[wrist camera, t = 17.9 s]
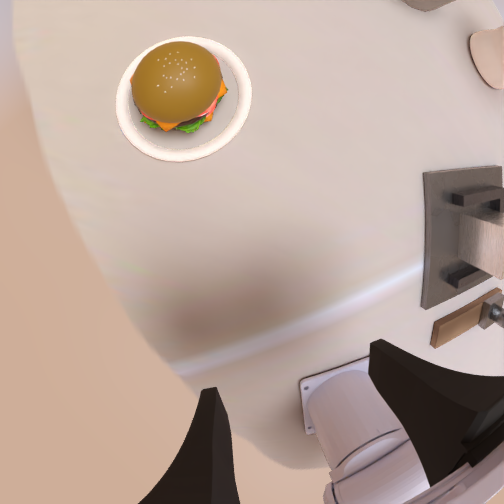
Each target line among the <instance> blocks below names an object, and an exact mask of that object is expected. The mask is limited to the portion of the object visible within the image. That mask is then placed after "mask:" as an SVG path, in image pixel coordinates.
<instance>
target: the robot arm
mask: <svg viewBox="0 0 504 504" xmlns="http://www.w3.org/2000/svg"><path fill="white" fill-rule="evenodd" d="M306 386H307V387H306ZM300 390H301V398H302V407H303V416H304V425H305V432H306V434H307V435H310V434H313V433H316V436H317V438H318V440H319V443H320V445H321V447H322V450H323V452H324V454H325V457H326V459H327V461H328V464H329V466H330V468H331V470H332V471H331V472H329V474H330V477H331V479H332V482H330V483H329V484H327V485H326V488H325V491H324V495H323V499H324V504H485V503H487V502H488V501H489V500H490V499H491V498H492V497H493V496H494V495H495V494H497V493H498V492H499V491H500V490H501V489H502V488H503V487H504V376H480V375H473V374H467V373H462V372H457V371H453V370H450V369H447V368H443V367H440V366H438V365H435V364H432V363H430V362H427V361H425V360H423V359H421V358H418V357H416V356H414V355H412V354H410V353H408V352H406V351H404V350H402V349H400V348H398V347H396V346H394V345H392V344H391V343H389V342H387V341H385V340H383V339H379V340H377V341H374V342H372V343H370V354H369V357H367V358H364V359H362V360H359V361H356V362H354V363H351V364H348V365H345V366H343V367H340V368H337V369H334V370H331V371H328V372H325V373H322V374H319V375H316V376H312V377H309V378H306V379H303V380H302V381H301V382H300ZM138 504H240V501H239V497H238V492H237V487H236V482H235V476H234V464H233V451H232V438H231V430H230V425H229V420H228V415H227V412H226V410H225V407H224V405H223V402H222V400H221V397H220V395H219V392H218V390H217V387H213V388H208V389H203V390H202V391H201V394H200V398H199V402H198V406H197V409H196V412H195V415H194V418H193V420H192V423H191V426H190V428H189V431H188V433H187V435H186V438H185V440H184V442H183V444H182V446H181V448H180V450H179V452H178V454H177V455H176V457H175V459H174V461H173V462H172V464H171V465H170V467H169V468H168V470H167V471H166V473H165V474H164V475H163V477H162V478H161V479H160V481H159V482H158V483H157V484H156V485H155V487H154V488H153V489H152V490H151V491H150V493H149V494H148V495H147V496H146V497H145V498H143V499H142V500H141V501H140V502H139V503H138Z"/></svg>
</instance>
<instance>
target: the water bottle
mask: <svg viewBox="0 0 504 504" xmlns="http://www.w3.org/2000/svg"><path fill="white" fill-rule="evenodd" d="M470 50H471V54H472V58H473V60H474V63H475V65H476V67H477V69H478V71H479V73H480V74H481V76H482V77H483V78H484V80H485V81H486V82H487V83H488V84H489V85H490V86H492V87H493V88H496V89H504V26H501V27H499V28H497V29H491V30H483V31H479V32H476V33H474V34H473V35H472V36H471V39H470Z"/></svg>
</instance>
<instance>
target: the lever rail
mask: <svg viewBox="0 0 504 504" xmlns="http://www.w3.org/2000/svg"><path fill="white" fill-rule="evenodd" d="M498 292H499V293H502V290H501V289H499V288H495V289H494V290H492V291H490V292H489V293H487V294H485V295H484V296H482V297H480V298H478V299H477V300H475V301H473V302H471V303H470V304H468V305H466V306H464V307H462V308H460V309H459V310H457V311H455V312H453V313H451V314H449V315H447V316H445V317H443V318H441V319H439V320H437V321H435V322H434V328H433V333H432V338H431V343H430V345H432V346H433V347H434V348H435V349H436V348H438V347H440V346H441V345H443V344H445V343H447V342H449V341H450V340H452V339H454V338H456V337H457V336H459V335H461V334H462V333H464V332H466V331H467V330H469V329H470V328H472V327H474V326H475V325H477V324H478V323H479V321H480V317H481V312H482V308H483V303H484V301H485V300H486V299H488V298H490V297H491V296H493V295H494V294H496V293H498Z"/></svg>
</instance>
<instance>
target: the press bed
mask: <svg viewBox="0 0 504 504" xmlns="http://www.w3.org/2000/svg"><path fill="white" fill-rule="evenodd" d="M423 175H424V190H425V219H426V236H425V266H424V281H423V292H422V302H421V307H422V308H424V309H425V310H427V309H429V308H431V307H434V306H436V305H438V304H440V303H442V302H444V301H446V300H448V299H451V298H453V297H455V296H457V295H459V294H461V293H463V292H465V291H467V290H468V289H470V288H472V287H474V286H476V285H478V284H480V283H482V282H484V281H485V280H487V279H489V278H491V277H493V275H491V274H489V273H487V272H485V271H483V270H481V269H479V268H477V267H475V266H473V265H471V264H469V263H467V262H465V261H463V260H461V259H459V258H458V249H459V232H460V213H463V212H467V211H471V210H475V209H479V208H483V207H485V208H489V209H492V210H496V211H499V212H502V213H504V188H503V187H502V166H485V167H473V168H462V169H452V170H443V171H434V172H426V173H423Z"/></svg>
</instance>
